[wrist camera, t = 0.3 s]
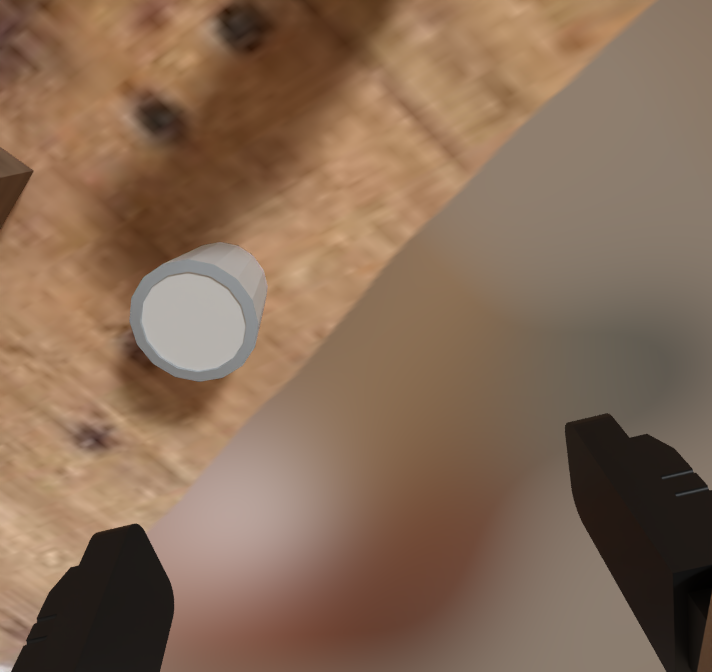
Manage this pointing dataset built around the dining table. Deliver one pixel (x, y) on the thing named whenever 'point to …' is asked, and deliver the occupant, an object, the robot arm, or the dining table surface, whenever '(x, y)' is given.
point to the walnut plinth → (11, 182)
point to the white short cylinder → (200, 311)
